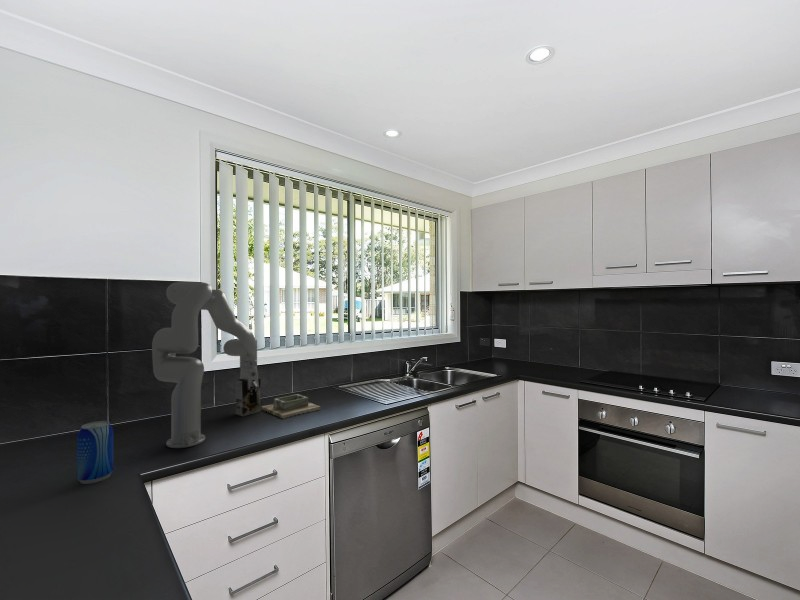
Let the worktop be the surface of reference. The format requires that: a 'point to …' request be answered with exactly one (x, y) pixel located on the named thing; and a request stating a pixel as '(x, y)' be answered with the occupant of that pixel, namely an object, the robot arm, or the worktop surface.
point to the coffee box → (246, 398)
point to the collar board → (290, 406)
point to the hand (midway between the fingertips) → (248, 400)
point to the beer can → (94, 452)
